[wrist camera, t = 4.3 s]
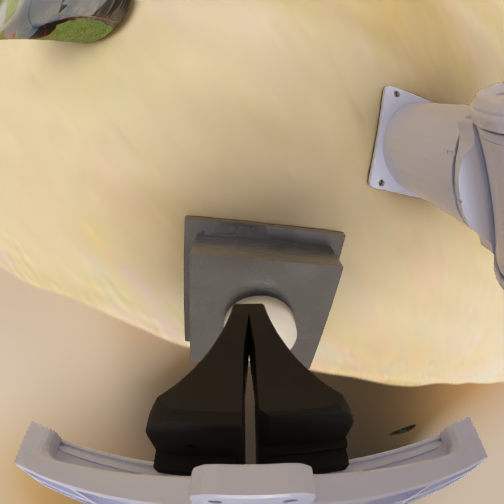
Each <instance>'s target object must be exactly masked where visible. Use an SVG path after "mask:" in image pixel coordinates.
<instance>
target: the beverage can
mask: <svg viewBox="0 0 504 504" xmlns="http://www.w3.org/2000/svg"><path fill="white" fill-rule="evenodd" d="M130 1H131V0H0V40H2V39H38V40H56V41H68V42H78V43H91V42H94V41H97V40H99V39H101V38H103V37H104V36H106V35H107V34H109V33H110V32H111V31H112V30H113V29H114V28H115V27H116V26H117V25H118V24H119V23H120V21H121V20H122V19H123V17H124V15H125V14H126V12H127V10H128V7H129V5H130Z"/></svg>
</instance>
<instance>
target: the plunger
mask: <svg viewBox="0 0 504 504" xmlns="http://www.w3.org/2000/svg"><path fill="white" fill-rule="evenodd" d="M235 304H263V305H264V306H265V309H266V311H267V314H268V316H269V318H270V320H271V322H272V324H273V326H274V327H275V329H276V331H277V332H278V334H279V336H280V337H281V339H282V340H283V342H284V343H285V344H286V346H287V347H288V348H289V350H290V349H291V348H292V347H293V345H294V343H295V341H296V338H297V329H296V325H295V320H294V316H293V313H292V311H291V309H290V308H289V307H288V306H287V305H286V304H285V303H284V302H282V301H281V300H279V299H276V298H274V297H270V296H252V297H247V298H244V299H242V300H240V301H238V302H236V303H235ZM232 307H233V306H232ZM232 307H231V308H230V309H229V310H228V311H227V313H226V315H225V319H224V326H225V324H226V322H227V320H228V318H229V316H230V313H231V310H232ZM249 361H250V359H249Z"/></svg>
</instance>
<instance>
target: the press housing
mask: <svg viewBox="0 0 504 504" xmlns="http://www.w3.org/2000/svg"><path fill="white" fill-rule="evenodd" d="M344 238H345V234H344V233H343V232H337V231H329V230H321V229H313V228H304V227H296V226H287V225H278V224H269V223H259V222H250V221H240V220H230V219H219V218H209V217H198V216H186V218H185V241H184V316H185V341H190V357H191V361H192V362H200V361H201V360H202V359H203V358H204V356H205V355H206V354H207V353H208V351H209V350H210V349H211V347H212V346H213V344H214V343H215V341H216V340H217V338H218V337H219V335H220V333H221V332H222V330H223V328H224V319H225V315H226V313H227V311H228V310H229V309H230V308H231V307H232V306H233V305H234V304H235V303H236V302H238V301H240V300H242V299H244V298H247V297H252V296H270V297H274V298H276V299H279V300H281V301H282V302H284V303H285V304H286V305H287V306H288V307H289V308H290V309H291V311H292V313H293V316H294V320H295V325H296V329H297V338H296V341H295V343H294V345H293V347H292V348H291V349H290V351H291V352H292V353H293V354H294V356H295V357H296V358H297V359H298V360H299V361H300V362H301V363H302V364H303V365H304V366H305V367H306V368H307V369H309V368H310V366H311V363H312V360H313V358H314V355H315V352H316V349H317V347H318V344H319V341H320V338H321V335H322V333H323V330H324V327H325V324H326V321H327V318H328V315H329V312H330V309H331V306H332V303H333V299H334V296H335V293H336V290H337V286H338V283H339V280H340V276H341V273H342V270H343V266H342V264H341V263H340V261H339V257H340V253H341V250H342V246H343V242H344ZM248 367H250V361H249V362H248Z"/></svg>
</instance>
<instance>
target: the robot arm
mask: <svg viewBox="0 0 504 504" xmlns="http://www.w3.org/2000/svg"><path fill="white" fill-rule="evenodd" d="M395 91H396V92H397V97H395V95H394V92H395ZM380 180H382V184H381V185H379V181H380ZM368 183H369V185H370V186H371V187H373V188H376V189H381V190H386V191H390V192H395V193H399V194H404V195H408V196H412V197H416V198H421V199H424V200H426V201H428V202H429V203H431V204H433V205H435V206H436V207H438V208H439V209H441V210H443V211H444V212H446V213H448V214H449V215H451V216H452V217H454V218H456V219H457V220H459V221H460V222H462V223H463V224H465V225H466V226H468V227H469V228H471V229H473V230H474V231H475V232H476V233H477V234H478V235H479V237H480V240H481V244H482V245H483V246H484V247H486V248H487V249H488V250H490V251H491V252H492V253H493V254H494V271H495V275H496V278H497V280H498V282H499V284H500V286H501V287H502V289H503V290H504V82H502V83H498V84H494V85H491V86H488V87H485V88H483V89H481V90H480V91H478V92H477V94H476V95H475V98H474V100H473V101H472V102H471V103H470V105H460V104H442V103H434V102H431V101H429V100H427V99H424V98H422V97H419V96H417V95H414V94H412V93H409V92H407V91H404V90H401V89H399V88H396V87H393V86H386V87H385V88H384V90H383V97H382V104H381V111H380V118H379V125H378V131H377V137H376V143H375V148H374V154H373V159H372V164H371V169H370V174H369V179H368ZM249 359H250V367H251V375H252V381H253V390H254V399H255V434H256V464H253V465H246V463H245V393H246V383H247V373H248V362H249ZM353 422H354V420H353V415H352V412H351V410H350V408H349V405H348V403H347V401H346V399H345V397H344V396H343V395H342V394H340V393H339V392H337V391H336V390H334V389H332V388H331V387H329V386H327V385H326V384H325V383H324V382H322V381H321V380H319V379H318V378H317V377H316V376H315V375H314V374H313V373H311V372H310V371H309V370H308V369H307V368H306V367H305V366H304V365H303V364H302V363H301V362H300V361H299V360H298V359H297V358H296V357H295V356H294V354H293V353H292V352H291V351H290V350H289V348H288V347H287V346H286V344H285V343H284V342H283V340H282V339H281V337H280V336H279V334H278V332H277V331H276V329H275V327H274V326H273V324H272V322H271V320H270V318H269V316H268V314H267V311H266V309H265V306H264V305H263V304H234V305H233V307H232V310H231V313H230V316H229V318H228V320H227V322H226V324H225V326H224V328H223V330H222V332H221V333H220V335H219V337H218V338H217V340H216V341H215V343H214V344H213V346H212V347H211V349H210V350H209V351H208V353H207V354H206V355H205V356H204V358H203V359H202V360H201V361H200V362H199V363H198V364H197V366H195V368H194V369H193V370H192V371H191V372H190V373H189V374H187V375H186V376H185V377H184V378H183V379H182V380H181V381H179V382H178V383H177V384H176V385H174V386H173V387H172V388H170V389H169V390H168V391H166V392H165V393H164V394H162V395H160V396H159V397H157V399H156V401H155V403H154V405H153V407H152V410H151V412H150V414H149V418H148V422H147V427H146V433H147V436H148V437H149V439H150V441H151V442H152V444H153V445H154V447H155V449H156V454H155V459H154V462H149V461H142V460H138V459H132V458H128V457H123V456H119V455H114V454H110V453H105V452H102V451H99V450H95V449H91V448H88V447H85V446H81V445H78V444H75V443H72V442H69V441H66V440H63V439H61V437H60V436H59V435H58V434H57V433H56V432H55V431H53V430H52V429H50V428H48V427H45V426H43V425H40V424H38V423H35V422H31V424H30V426H29V428H28V430H27V432H26V435H25V437H24V440H23V442H22V444H21V447H20V449H19V451H18V454H17V456H16V459H15V462H14V463H15V465H17V466H18V467H19V468H21V469H22V470H23V471H25V472H26V473H27V474H28V475H30V476H31V477H33V478H34V479H35V480H37V481H38V482H40V483H41V484H43V485H44V486H46V487H48V488H50V489H52V490H55V491H57V492H59V493H62V494H64V495H66V496H68V497H70V498H73V499H75V500H78V501H80V502H83V503H85V504H407V503H410V502H412V501H415V500H417V499H420V498H422V497H424V496H427V495H429V494H431V493H433V492H436V491H438V490H440V489H442V488H444V487H446V486H448V485H450V484H452V483H454V482H456V481H458V480H459V479H461V478H463V477H464V476H465V475H467V474H468V473H469V472H471V471H472V470H473V469H474V468H476V467H477V466H478V465H480V464H481V463H482V462H483V461H484V460H486V459H487V457H488V456H487V454H486V451H485V449H484V447H483V445H482V442H481V440H480V438H479V436H478V434H477V432H476V430H475V428H474V426H473V424H472V422H471V420H470V418H469V417H466V418H464V419H461V420H459V421H457V422H454V423H452V424H450V425H448V426H447V427H446V428H444V429H443V431H442V432H441V433H440V435H437V436H435V437H432V438H429V439H426V440H424V441H420V442H417V443H414V444H411V445H408V446H405V447H401V448H398V449H394V450H390V451H387V452H383V453H378V454H374V455H370V456H366V457H361V458H356V459H351V460H348V456H347V452H346V448H347V440H346V436H347V434H348V433H349V431H350V429H351V427H352V425H353Z"/></svg>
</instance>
